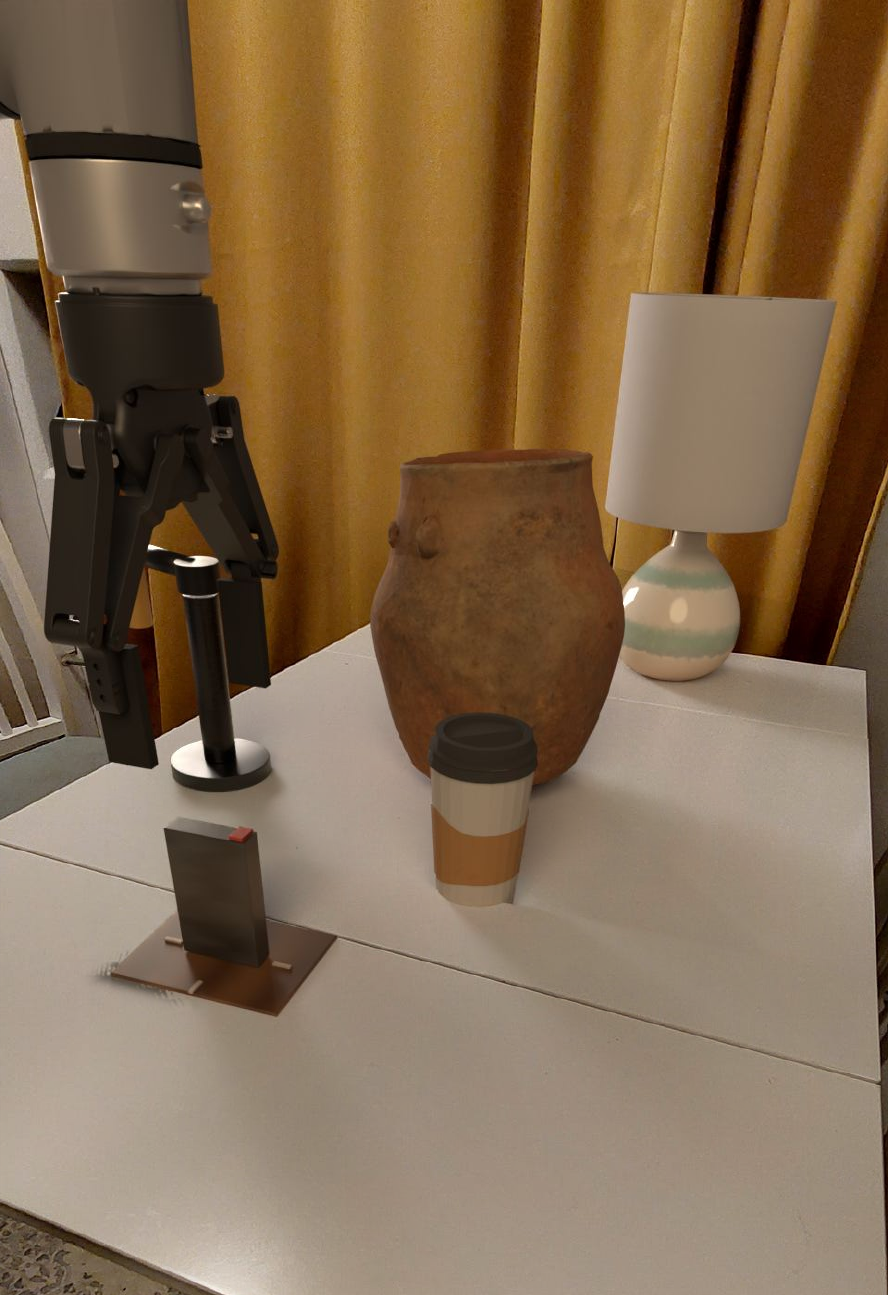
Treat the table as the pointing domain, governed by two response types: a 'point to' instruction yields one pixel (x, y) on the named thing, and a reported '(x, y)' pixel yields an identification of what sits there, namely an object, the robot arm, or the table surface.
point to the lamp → (706, 456)
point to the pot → (498, 600)
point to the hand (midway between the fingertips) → (197, 720)
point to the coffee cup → (480, 805)
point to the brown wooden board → (228, 967)
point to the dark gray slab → (218, 890)
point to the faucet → (214, 713)
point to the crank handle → (190, 578)
